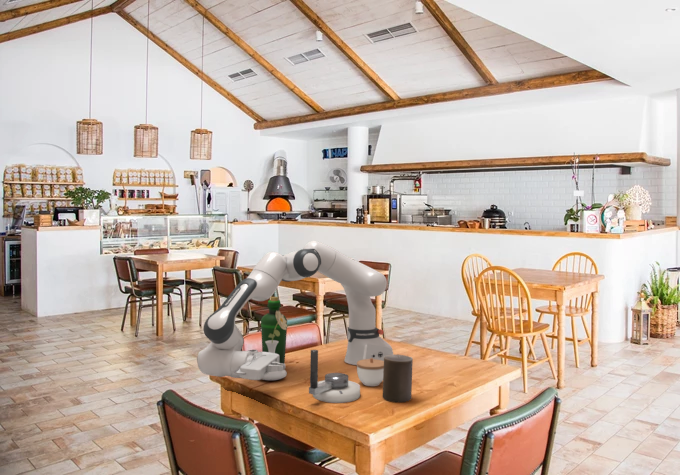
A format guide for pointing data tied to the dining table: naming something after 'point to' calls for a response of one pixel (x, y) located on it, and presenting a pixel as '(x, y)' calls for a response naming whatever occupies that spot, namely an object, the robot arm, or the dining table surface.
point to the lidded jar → (370, 371)
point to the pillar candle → (397, 378)
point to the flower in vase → (272, 346)
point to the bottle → (268, 327)
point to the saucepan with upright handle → (330, 379)
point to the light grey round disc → (340, 393)
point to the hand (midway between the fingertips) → (284, 367)
